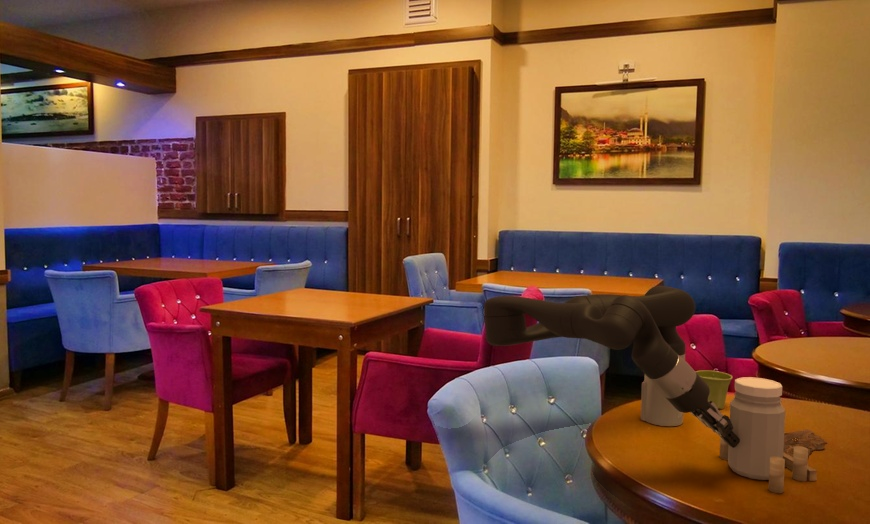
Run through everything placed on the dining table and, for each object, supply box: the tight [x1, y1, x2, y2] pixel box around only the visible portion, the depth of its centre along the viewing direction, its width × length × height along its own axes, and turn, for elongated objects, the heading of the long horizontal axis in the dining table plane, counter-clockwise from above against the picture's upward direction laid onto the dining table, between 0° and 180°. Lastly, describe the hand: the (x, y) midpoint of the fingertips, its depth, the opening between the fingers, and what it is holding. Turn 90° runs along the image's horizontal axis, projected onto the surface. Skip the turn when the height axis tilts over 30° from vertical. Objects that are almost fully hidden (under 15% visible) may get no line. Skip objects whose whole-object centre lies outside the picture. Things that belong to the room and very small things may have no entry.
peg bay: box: [719, 436, 818, 494], centre depth 126 cm, size 12×18×6 cm, turn 7°
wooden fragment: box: [783, 429, 828, 458], centre depth 142 cm, size 26×11×1 cm, turn 132°
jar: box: [727, 376, 786, 481], centre depth 125 cm, size 10×10×18 cm
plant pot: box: [695, 369, 733, 410], centre depth 169 cm, size 9×9×9 cm
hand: (735, 443), depth 124 cm, fingers closed
